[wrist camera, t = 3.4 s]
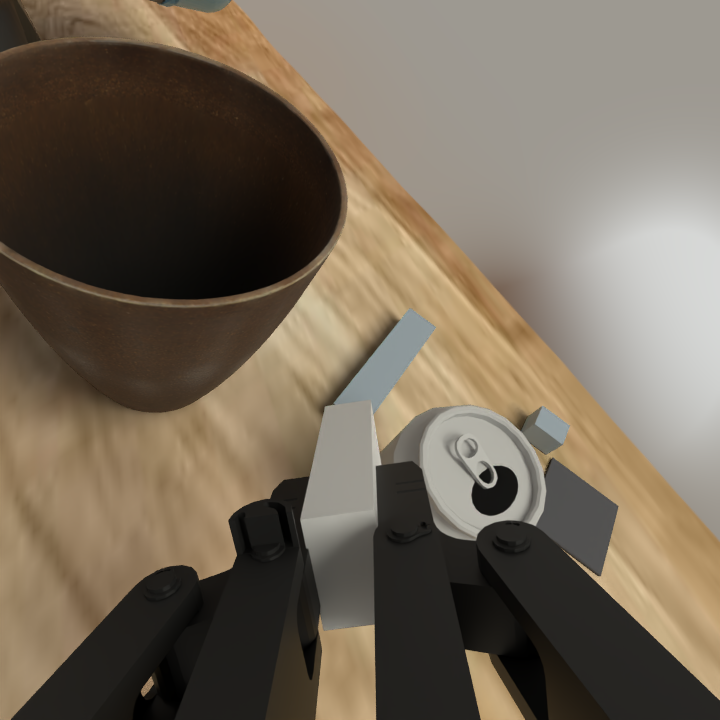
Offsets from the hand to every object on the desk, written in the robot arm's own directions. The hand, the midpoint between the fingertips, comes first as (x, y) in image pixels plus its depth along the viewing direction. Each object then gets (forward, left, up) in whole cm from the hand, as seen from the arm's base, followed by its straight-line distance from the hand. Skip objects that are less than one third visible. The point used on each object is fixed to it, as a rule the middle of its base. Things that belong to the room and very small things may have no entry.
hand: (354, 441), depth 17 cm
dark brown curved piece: (-13, +5, -16) cm, 21 cm away
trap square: (+16, +15, -15) cm, 27 cm away
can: (+5, +5, -16) cm, 17 cm away
